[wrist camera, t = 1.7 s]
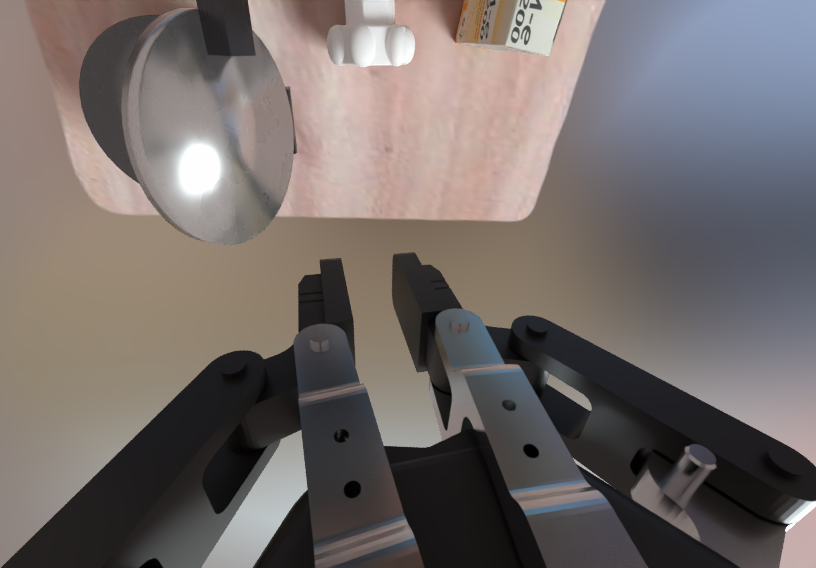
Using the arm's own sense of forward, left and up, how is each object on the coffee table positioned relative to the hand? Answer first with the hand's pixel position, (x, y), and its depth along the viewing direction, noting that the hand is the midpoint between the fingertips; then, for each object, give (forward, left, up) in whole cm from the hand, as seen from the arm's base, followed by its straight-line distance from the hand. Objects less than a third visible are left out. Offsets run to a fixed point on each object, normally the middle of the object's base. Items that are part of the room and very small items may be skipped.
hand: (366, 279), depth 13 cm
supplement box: (-11, +18, -36) cm, 42 cm away
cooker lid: (-4, -7, -19) cm, 20 cm away
